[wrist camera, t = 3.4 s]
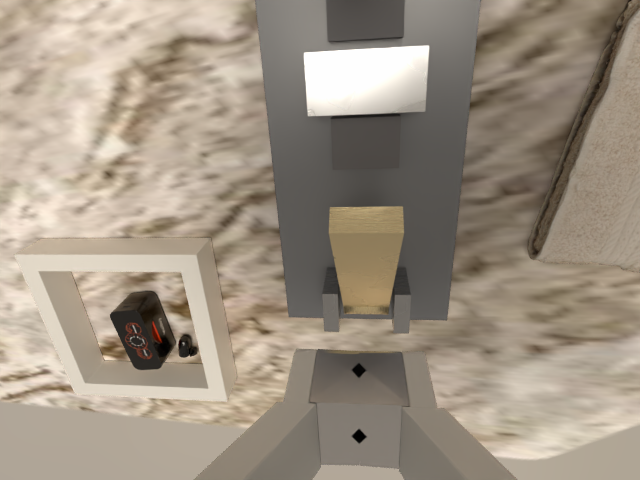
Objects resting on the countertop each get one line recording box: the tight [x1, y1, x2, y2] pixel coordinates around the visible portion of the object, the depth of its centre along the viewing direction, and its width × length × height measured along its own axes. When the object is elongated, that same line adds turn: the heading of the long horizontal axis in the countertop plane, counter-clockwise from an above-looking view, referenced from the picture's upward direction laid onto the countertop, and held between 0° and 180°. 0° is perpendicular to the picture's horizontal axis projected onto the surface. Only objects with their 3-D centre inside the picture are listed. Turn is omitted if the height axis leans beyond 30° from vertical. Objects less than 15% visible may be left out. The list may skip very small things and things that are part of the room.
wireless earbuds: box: [110, 292, 197, 370], centre depth 35 cm, size 5×7×3 cm, turn 9°
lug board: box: [255, 0, 481, 333], centre depth 22 cm, size 12×34×6 cm, turn 3°
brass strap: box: [329, 206, 404, 315], centre depth 22 cm, size 3×13×2 cm
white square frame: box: [14, 238, 237, 402], centre depth 34 cm, size 15×15×3 cm
